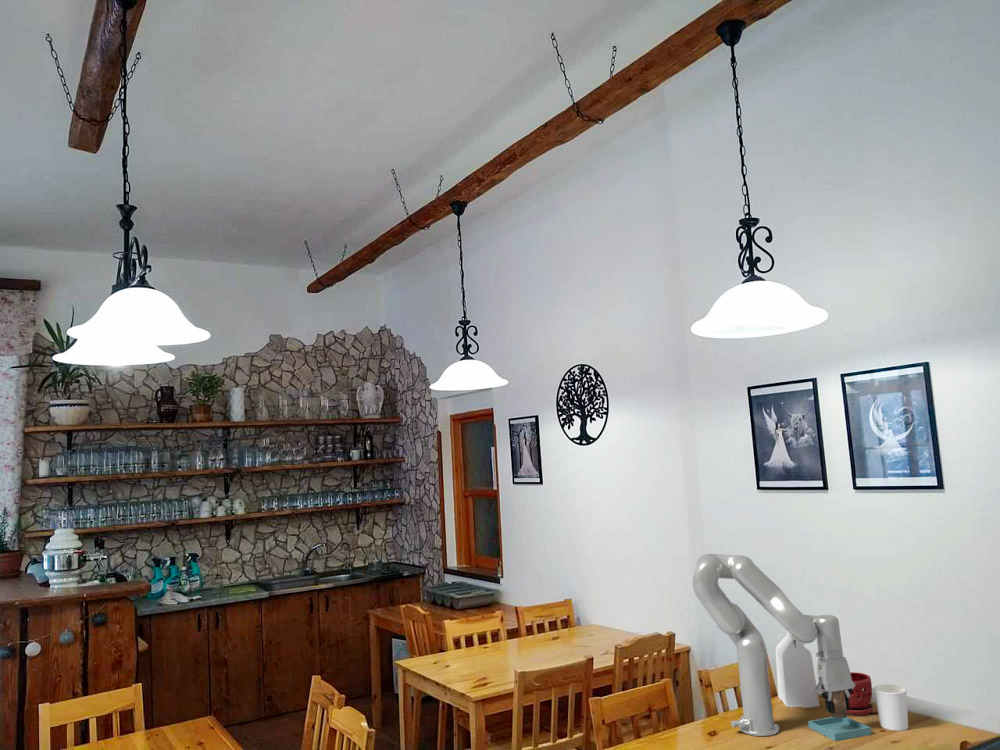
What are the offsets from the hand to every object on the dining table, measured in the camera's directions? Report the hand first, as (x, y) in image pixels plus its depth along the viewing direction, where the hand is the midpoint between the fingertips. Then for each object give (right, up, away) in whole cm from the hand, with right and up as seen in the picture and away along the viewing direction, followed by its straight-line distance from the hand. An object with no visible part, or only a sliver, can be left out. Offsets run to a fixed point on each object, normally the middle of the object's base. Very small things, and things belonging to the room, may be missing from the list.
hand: (838, 710), depth 256 cm
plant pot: (+13, -8, +17) cm, 23 cm away
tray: (0, -7, -1) cm, 7 cm away
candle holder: (+19, -6, 0) cm, 19 cm away
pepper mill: (0, -2, 0) cm, 2 cm away
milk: (-1, -11, +31) cm, 33 cm away
